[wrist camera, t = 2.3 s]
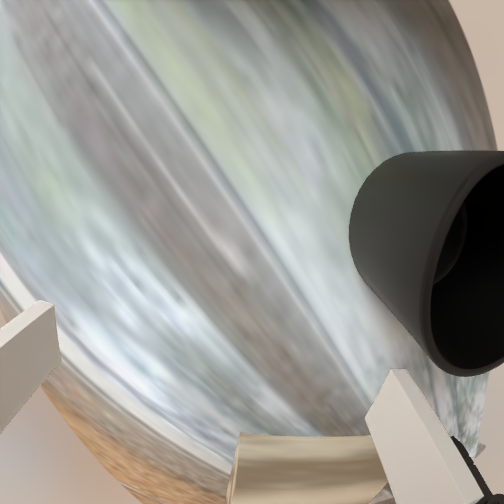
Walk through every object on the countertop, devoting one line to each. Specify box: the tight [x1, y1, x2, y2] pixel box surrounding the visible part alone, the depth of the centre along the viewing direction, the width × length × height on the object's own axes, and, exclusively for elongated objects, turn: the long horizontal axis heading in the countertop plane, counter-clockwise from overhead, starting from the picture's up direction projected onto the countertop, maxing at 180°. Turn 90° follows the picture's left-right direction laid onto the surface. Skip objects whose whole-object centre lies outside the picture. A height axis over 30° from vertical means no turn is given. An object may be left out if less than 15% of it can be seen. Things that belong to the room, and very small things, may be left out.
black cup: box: [349, 151, 504, 377], centre depth 12 cm, size 9×12×9 cm
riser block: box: [226, 433, 388, 504], centre depth 21 cm, size 12×12×6 cm
